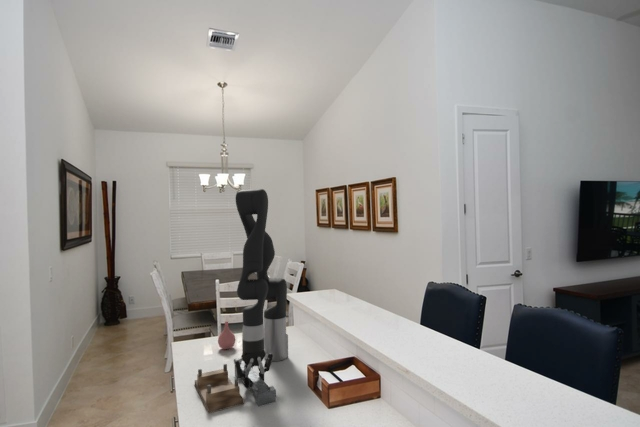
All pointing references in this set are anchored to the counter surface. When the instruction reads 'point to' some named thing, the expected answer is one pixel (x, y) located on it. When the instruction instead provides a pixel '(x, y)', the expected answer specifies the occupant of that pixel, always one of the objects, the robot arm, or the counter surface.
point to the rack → (218, 390)
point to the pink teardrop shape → (226, 338)
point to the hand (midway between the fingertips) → (253, 385)
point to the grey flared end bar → (259, 388)
